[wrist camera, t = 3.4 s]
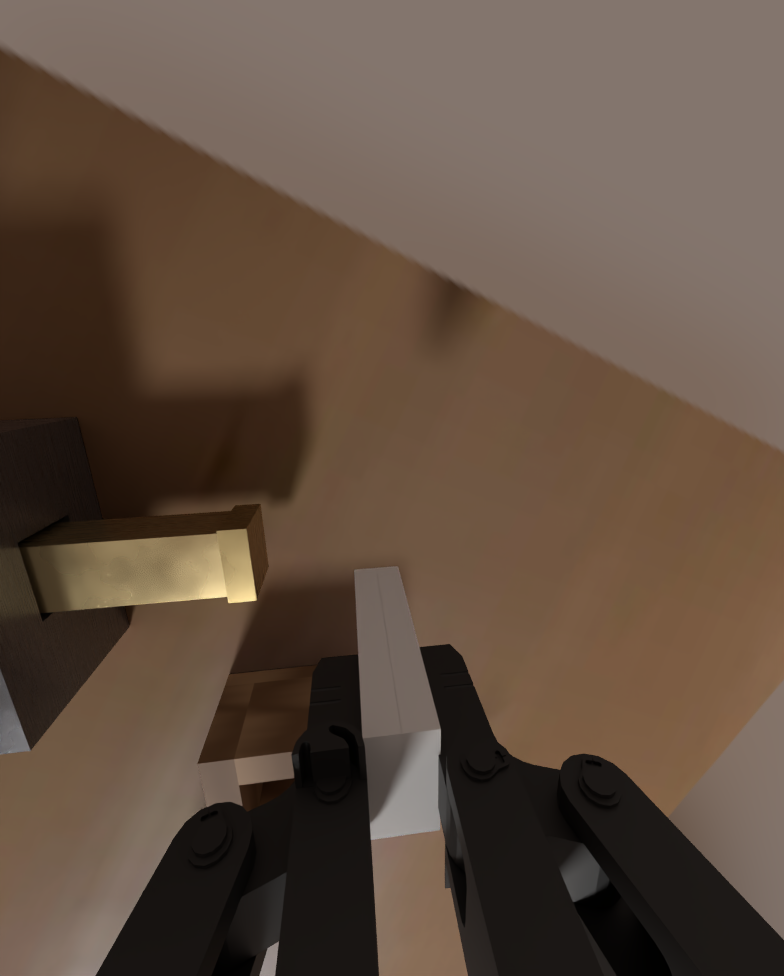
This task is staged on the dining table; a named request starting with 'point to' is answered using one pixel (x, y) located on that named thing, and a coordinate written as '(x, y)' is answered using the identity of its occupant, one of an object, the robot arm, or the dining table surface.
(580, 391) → the dining table surface
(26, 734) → the socket
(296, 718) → the open box
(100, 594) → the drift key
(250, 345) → the dining table surface
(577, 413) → the dining table surface
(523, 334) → the dining table surface
